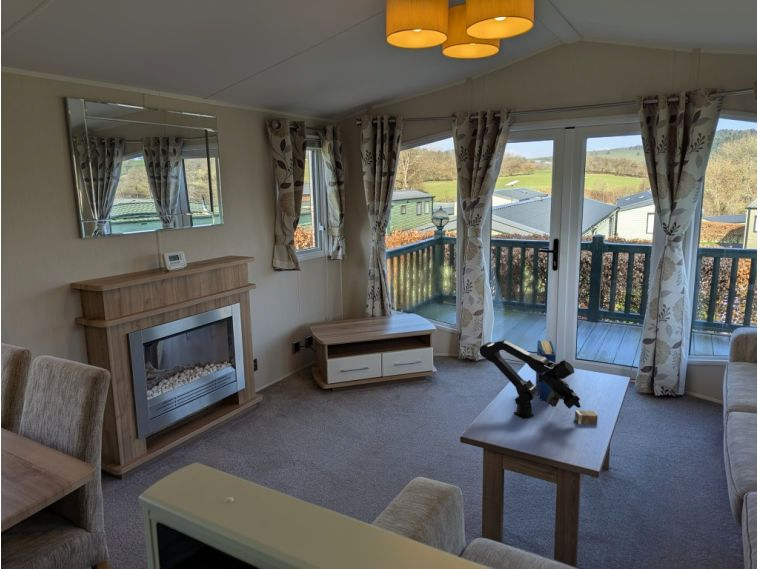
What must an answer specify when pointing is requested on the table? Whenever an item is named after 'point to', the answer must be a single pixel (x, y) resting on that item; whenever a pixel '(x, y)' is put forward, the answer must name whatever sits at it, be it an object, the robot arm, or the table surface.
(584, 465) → the table surface
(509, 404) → the table surface
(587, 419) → the brown rectangular block
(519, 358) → the robot arm
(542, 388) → the book
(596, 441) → the table surface
